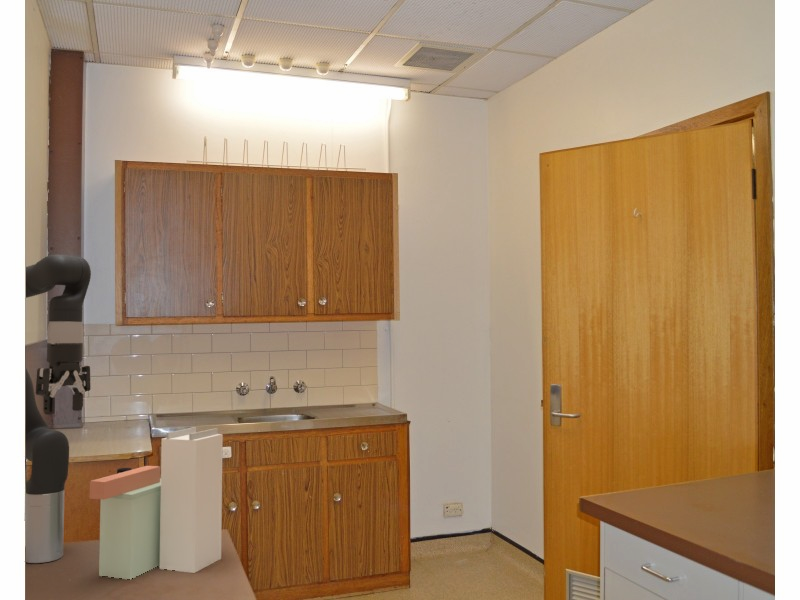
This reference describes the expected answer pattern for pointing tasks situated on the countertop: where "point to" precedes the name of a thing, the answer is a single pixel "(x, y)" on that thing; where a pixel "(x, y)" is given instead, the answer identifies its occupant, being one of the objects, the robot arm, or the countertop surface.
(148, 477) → the long salmon orange block
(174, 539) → the stand
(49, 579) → the countertop surface
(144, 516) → the pale mint green block
